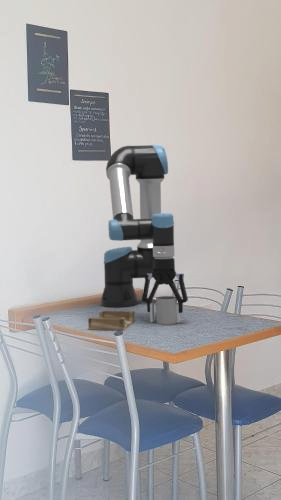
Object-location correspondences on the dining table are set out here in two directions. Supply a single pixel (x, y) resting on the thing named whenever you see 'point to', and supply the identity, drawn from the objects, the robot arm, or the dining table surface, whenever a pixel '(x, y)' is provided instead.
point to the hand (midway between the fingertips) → (165, 321)
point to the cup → (166, 310)
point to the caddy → (112, 320)
